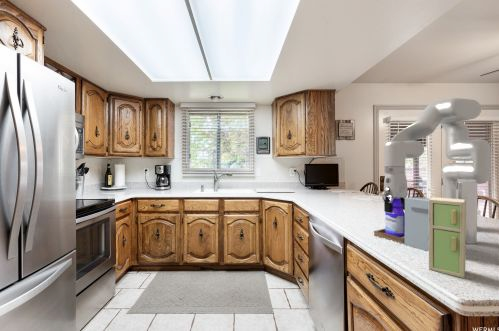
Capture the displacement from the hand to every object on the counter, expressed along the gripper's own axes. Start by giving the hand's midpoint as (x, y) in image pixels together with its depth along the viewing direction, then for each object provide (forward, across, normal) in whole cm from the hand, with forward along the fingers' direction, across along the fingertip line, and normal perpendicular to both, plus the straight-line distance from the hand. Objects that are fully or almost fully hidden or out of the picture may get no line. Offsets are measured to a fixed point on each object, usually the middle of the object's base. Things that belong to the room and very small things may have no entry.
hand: (395, 210), depth 100 cm
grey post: (+12, +19, -17) cm, 28 cm away
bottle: (+11, 0, 0) cm, 11 cm away
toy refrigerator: (+11, -19, -25) cm, 33 cm away
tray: (+11, -1, 0) cm, 11 cm away
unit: (+11, -2, -13) cm, 17 cm away
